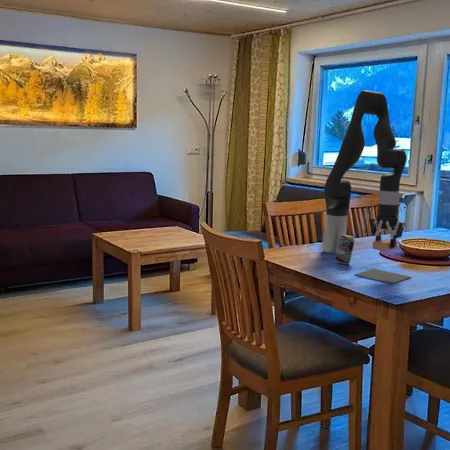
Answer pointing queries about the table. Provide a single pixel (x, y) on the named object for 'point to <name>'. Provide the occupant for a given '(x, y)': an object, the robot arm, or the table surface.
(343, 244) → the beverage can
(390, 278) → the mat
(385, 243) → the tan rectangular block
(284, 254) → the table surface
